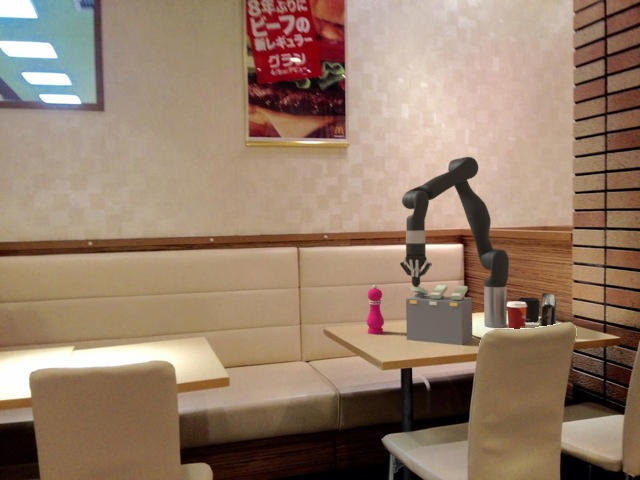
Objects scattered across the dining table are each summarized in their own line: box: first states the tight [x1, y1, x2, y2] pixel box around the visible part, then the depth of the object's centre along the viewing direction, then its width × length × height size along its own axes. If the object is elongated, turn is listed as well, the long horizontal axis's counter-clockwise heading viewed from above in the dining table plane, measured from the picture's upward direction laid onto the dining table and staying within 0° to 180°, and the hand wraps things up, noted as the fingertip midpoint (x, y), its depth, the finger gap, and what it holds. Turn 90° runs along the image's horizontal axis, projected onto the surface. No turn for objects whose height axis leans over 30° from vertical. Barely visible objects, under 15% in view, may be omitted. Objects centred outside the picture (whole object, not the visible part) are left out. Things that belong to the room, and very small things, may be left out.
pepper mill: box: [366, 284, 385, 335], centre depth 240 cm, size 7×7×20 cm
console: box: [405, 293, 473, 346], centre depth 225 cm, size 13×22×17 cm, turn 58°
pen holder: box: [517, 297, 541, 323], centre depth 260 cm, size 9×9×10 cm
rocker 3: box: [449, 285, 468, 300], centre depth 220 cm, size 9×4×2 cm, turn 148°
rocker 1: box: [410, 285, 429, 295], centre depth 229 cm, size 9×4×2 cm, turn 148°
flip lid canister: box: [506, 301, 527, 329], centre depth 223 cm, size 8×8×14 cm
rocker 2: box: [429, 284, 448, 299], centre depth 224 cm, size 9×4×2 cm, turn 149°
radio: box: [538, 292, 557, 327], centre depth 233 cm, size 23×9×15 cm, turn 150°
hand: (416, 286), depth 225 cm, fingers closed
